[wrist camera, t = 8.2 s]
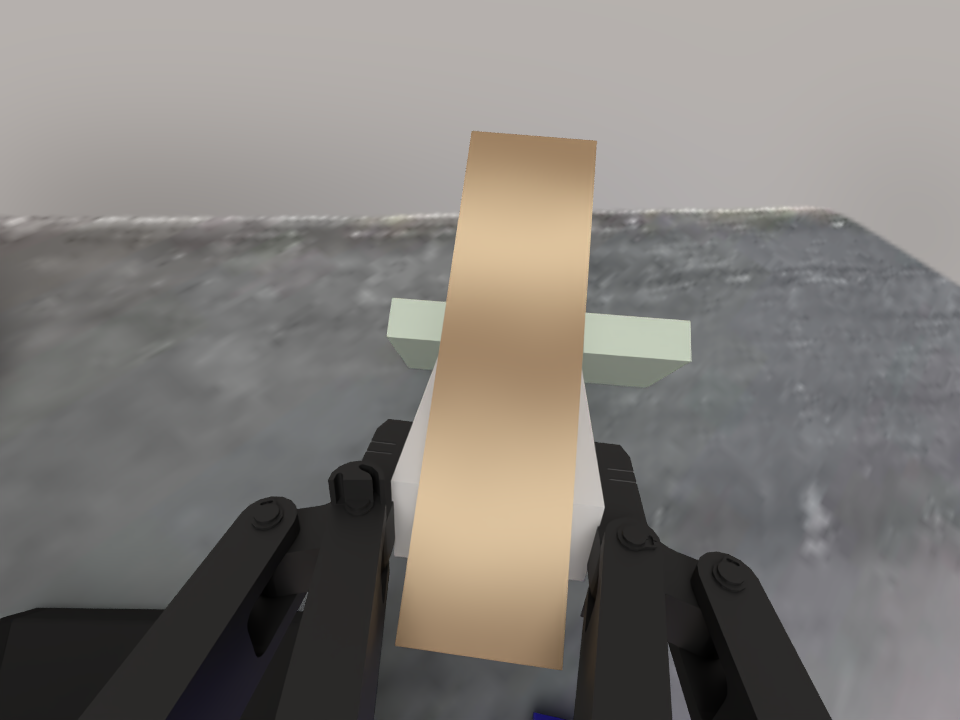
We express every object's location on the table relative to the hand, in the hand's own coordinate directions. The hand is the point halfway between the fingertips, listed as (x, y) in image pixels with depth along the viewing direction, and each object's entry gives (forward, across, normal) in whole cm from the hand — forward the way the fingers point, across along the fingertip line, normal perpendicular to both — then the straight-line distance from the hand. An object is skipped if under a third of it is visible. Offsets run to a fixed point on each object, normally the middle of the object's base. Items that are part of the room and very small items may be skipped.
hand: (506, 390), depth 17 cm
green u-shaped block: (+17, +1, -8) cm, 19 cm away
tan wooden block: (+2, 0, -2) cm, 3 cm away
